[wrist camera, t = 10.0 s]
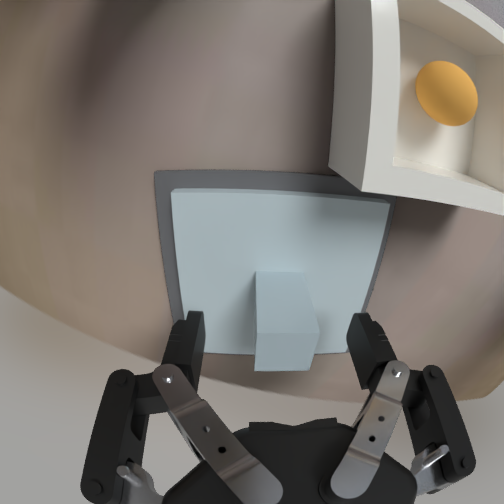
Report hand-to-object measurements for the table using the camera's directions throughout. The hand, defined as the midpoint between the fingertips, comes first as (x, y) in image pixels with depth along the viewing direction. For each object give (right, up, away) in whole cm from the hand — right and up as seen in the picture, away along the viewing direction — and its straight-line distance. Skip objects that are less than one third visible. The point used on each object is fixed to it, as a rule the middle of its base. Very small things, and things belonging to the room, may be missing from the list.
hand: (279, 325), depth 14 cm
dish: (+8, +13, -2) cm, 16 cm away
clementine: (+8, +12, -5) cm, 15 cm away
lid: (0, +2, +3) cm, 4 cm away
